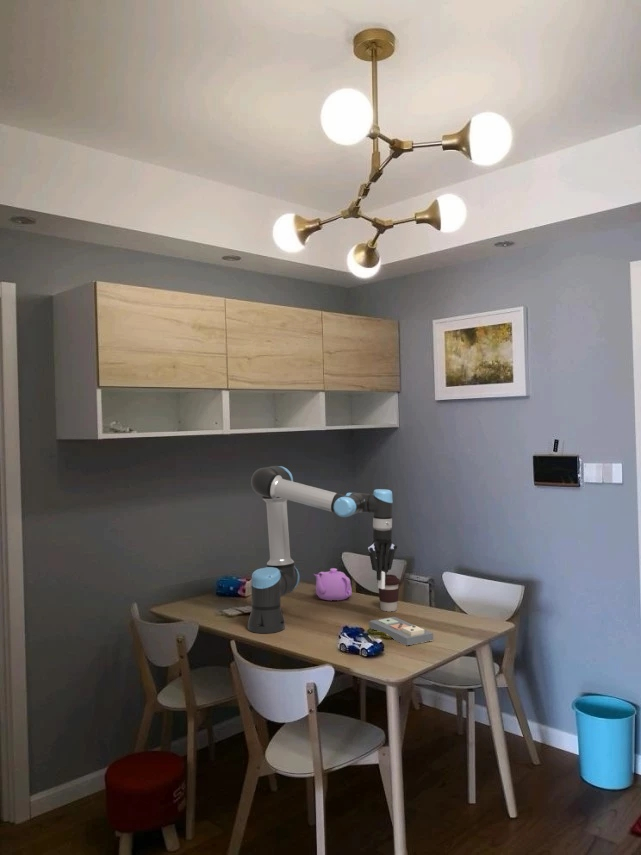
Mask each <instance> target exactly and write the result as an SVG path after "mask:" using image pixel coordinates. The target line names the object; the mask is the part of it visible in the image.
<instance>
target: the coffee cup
mask: <svg viewBox="0 0 641 855" xmlns="http://www.w3.org/2000/svg"><path fill="white" fill-rule="evenodd" d="M376 580H377V579H376ZM376 583H377V584H378V580H377V582H376ZM400 584H401V580H400V578H398V576H397V575H395V574H387V578H386V580H385V589H380V588H378V597H379V603H380V605H379V606H380V610H381V611H383V612H386V611H387V613H390V612H391V611H393V612H396V611H398V604H399V603H398V601H399V593H400V592H399V591H400V588H399V585H400ZM391 613H392V612H391Z"/></svg>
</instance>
